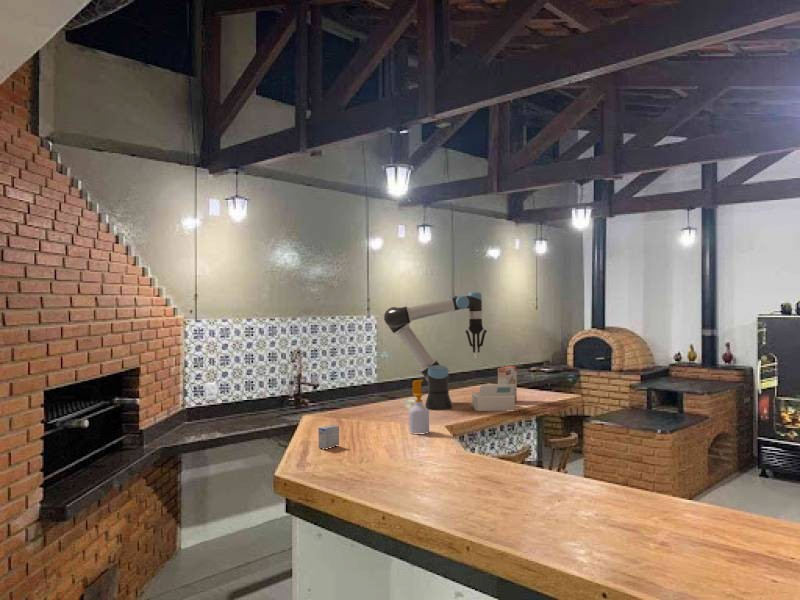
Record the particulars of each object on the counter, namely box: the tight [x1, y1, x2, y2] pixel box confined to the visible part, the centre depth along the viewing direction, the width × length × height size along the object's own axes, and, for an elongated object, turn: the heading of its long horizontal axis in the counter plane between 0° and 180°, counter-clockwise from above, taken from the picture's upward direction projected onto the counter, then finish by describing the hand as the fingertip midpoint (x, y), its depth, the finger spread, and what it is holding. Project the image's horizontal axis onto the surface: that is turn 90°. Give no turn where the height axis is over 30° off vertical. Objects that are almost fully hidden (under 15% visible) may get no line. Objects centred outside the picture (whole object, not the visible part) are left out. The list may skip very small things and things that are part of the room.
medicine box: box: [317, 424, 340, 449], centre depth 242 cm, size 8×4×9 cm, turn 141°
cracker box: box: [497, 365, 518, 402], centre depth 342 cm, size 14×6×21 cm, turn 143°
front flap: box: [479, 384, 515, 397], centre depth 311 cm, size 18×10×1 cm
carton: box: [471, 391, 516, 412], centre depth 323 cm, size 21×17×8 cm
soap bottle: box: [408, 379, 430, 433], centre depth 266 cm, size 9×9×25 cm
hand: (476, 358), depth 343 cm, fingers closed
